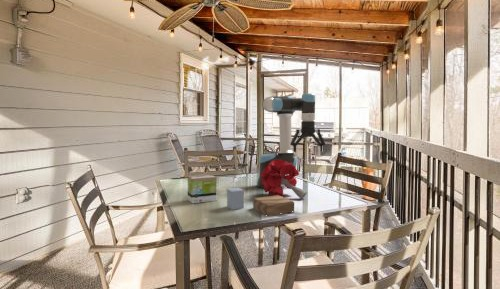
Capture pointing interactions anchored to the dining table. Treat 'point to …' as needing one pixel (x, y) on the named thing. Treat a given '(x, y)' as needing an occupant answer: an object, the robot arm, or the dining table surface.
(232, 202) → the block
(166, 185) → the dining table surface
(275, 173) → the bouquet
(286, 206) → the riser
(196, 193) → the tea box
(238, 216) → the dining table surface
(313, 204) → the dining table surface
